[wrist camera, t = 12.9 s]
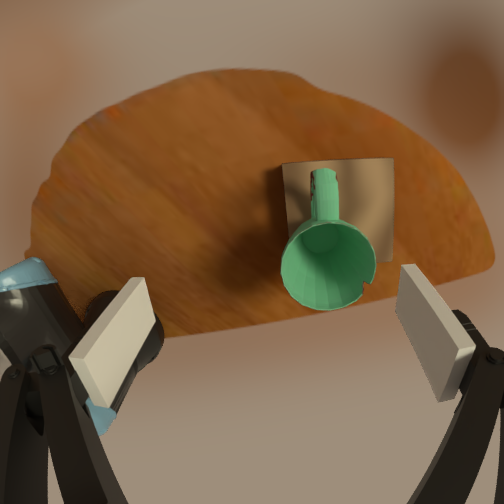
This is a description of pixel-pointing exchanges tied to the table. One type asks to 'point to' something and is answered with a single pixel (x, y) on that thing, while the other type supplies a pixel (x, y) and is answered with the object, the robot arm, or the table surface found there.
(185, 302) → the table surface
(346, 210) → the walnut board
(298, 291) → the mug
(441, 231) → the table surface
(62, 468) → the robot arm
